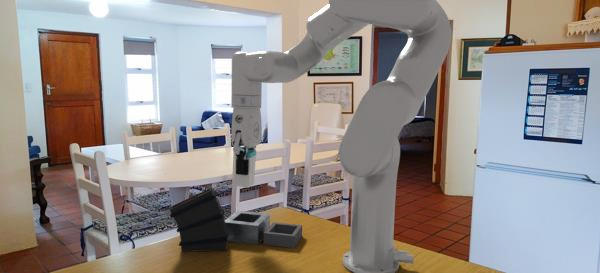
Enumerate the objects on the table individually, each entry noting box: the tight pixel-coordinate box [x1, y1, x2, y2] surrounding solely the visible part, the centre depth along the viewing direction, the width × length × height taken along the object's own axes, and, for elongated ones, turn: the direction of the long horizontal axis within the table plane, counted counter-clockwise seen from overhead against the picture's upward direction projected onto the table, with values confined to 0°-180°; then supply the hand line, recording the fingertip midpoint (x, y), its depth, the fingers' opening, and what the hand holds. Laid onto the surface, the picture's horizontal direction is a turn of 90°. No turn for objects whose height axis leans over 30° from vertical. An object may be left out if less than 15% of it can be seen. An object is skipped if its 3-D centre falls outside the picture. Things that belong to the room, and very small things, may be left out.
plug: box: [233, 149, 257, 189], centre depth 107 cm, size 4×4×9 cm
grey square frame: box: [263, 221, 303, 249], centre depth 107 cm, size 8×8×3 cm
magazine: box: [169, 187, 228, 252], centre depth 100 cm, size 4×13×15 cm, turn 94°
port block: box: [224, 210, 271, 246], centre depth 109 cm, size 10×10×5 cm
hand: (245, 171), depth 107 cm, fingers closed on plug, 4 cm apart
